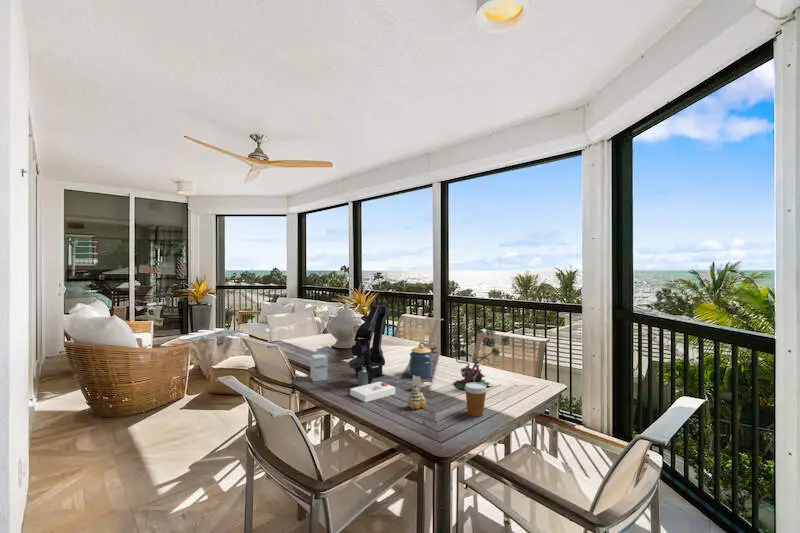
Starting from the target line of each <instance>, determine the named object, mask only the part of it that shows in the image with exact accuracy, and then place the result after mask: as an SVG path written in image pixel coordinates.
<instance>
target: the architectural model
mask: <svg viewBox="0 0 800 533" xmlns="http://www.w3.org/2000/svg"><path fill="white" fill-rule="evenodd" d="M419 377H420V376H419ZM419 377H416V376H414V375H413V377H412V388H411V390H412V389H413V388H414V385H417V388H418V391H419V392H421V388H422V387H427V386H428V385H427V384H426V383H424V382H423V381H421V380H422V379H423V378H419Z"/></svg>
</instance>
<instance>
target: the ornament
mask: <svg viewBox="0 0 800 533" xmlns="http://www.w3.org/2000/svg"><path fill="white" fill-rule="evenodd" d="M412 388H413V387H412ZM412 388H411V392H410V395H409V396H408V399H407V401H406V402H407V404H406V405H407V407H408V408H410V409H412V410H419V409H424V408H425V407H426V405H427V400H426V398H425V396H424V393H423V392H422V391H420V392H419V391H418V388H417V385H414V388H413V389H412Z"/></svg>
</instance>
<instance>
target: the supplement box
mask: <svg viewBox="0 0 800 533" xmlns="http://www.w3.org/2000/svg"><path fill="white" fill-rule="evenodd" d="M328 359H329V358H328V356H327V355H326V354H323V353H322V354H310V379H311V380H312V381H313V382H321V381H327V380H328Z"/></svg>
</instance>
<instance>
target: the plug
mask: <svg viewBox="0 0 800 533" xmlns="http://www.w3.org/2000/svg"><path fill="white" fill-rule="evenodd" d="M366 372H367V371H366V369H365V370H363V369H362V371H358V379H357V386H358V387H359V386H364V385H368V374H367V373H366Z"/></svg>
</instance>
